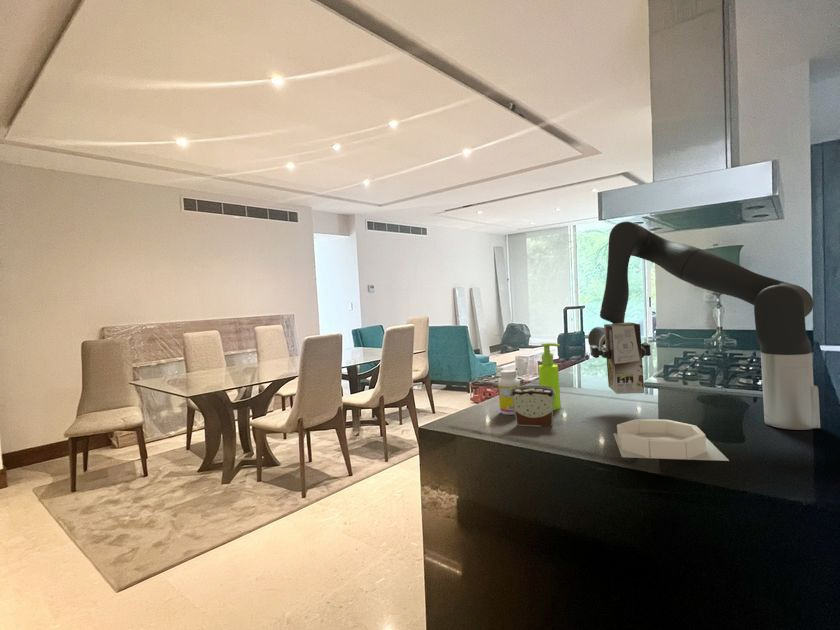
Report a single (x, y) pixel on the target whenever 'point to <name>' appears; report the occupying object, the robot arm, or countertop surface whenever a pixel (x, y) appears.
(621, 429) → the bowl
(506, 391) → the supplement bottle
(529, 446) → the countertop surface
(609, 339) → the coffee box
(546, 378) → the soap dispenser
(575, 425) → the countertop surface
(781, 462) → the countertop surface
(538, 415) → the food container
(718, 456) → the mat
